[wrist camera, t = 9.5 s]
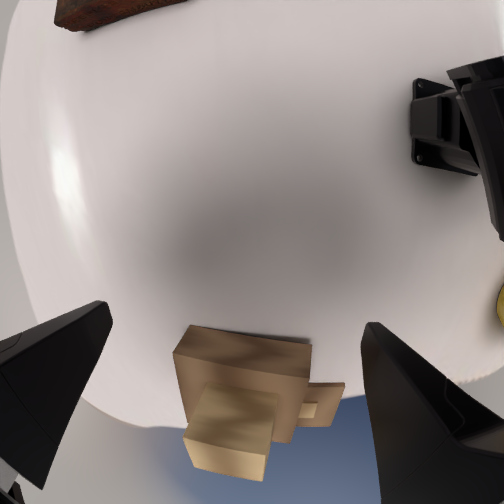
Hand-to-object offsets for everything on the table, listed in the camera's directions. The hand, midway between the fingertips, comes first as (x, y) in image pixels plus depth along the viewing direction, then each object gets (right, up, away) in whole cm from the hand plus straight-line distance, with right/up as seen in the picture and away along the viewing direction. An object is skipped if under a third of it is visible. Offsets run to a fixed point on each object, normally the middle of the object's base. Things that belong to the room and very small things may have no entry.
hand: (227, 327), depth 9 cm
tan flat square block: (0, -10, +17) cm, 20 cm away
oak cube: (0, -11, +14) cm, 18 cm away
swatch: (+6, -15, +19) cm, 25 cm away
